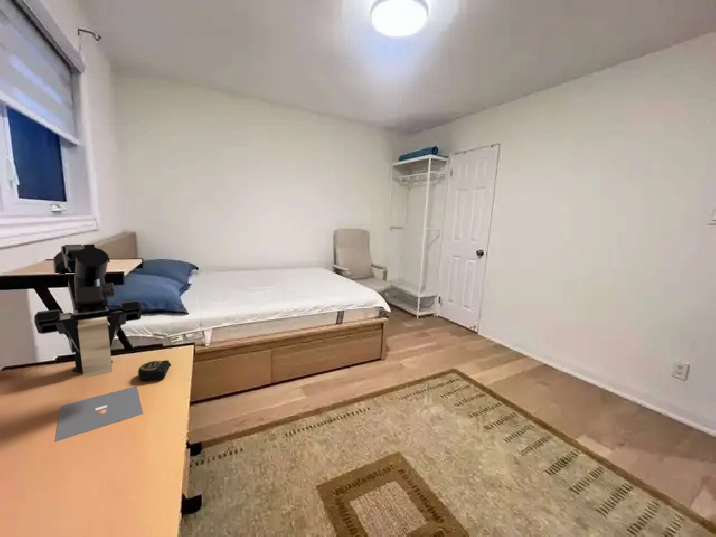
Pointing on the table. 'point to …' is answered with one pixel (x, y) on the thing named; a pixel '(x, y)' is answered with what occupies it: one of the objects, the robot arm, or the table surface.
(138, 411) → the slate tile
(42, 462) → the table surface
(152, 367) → the tape measure
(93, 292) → the robot arm
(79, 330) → the birch block
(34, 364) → the table surface
